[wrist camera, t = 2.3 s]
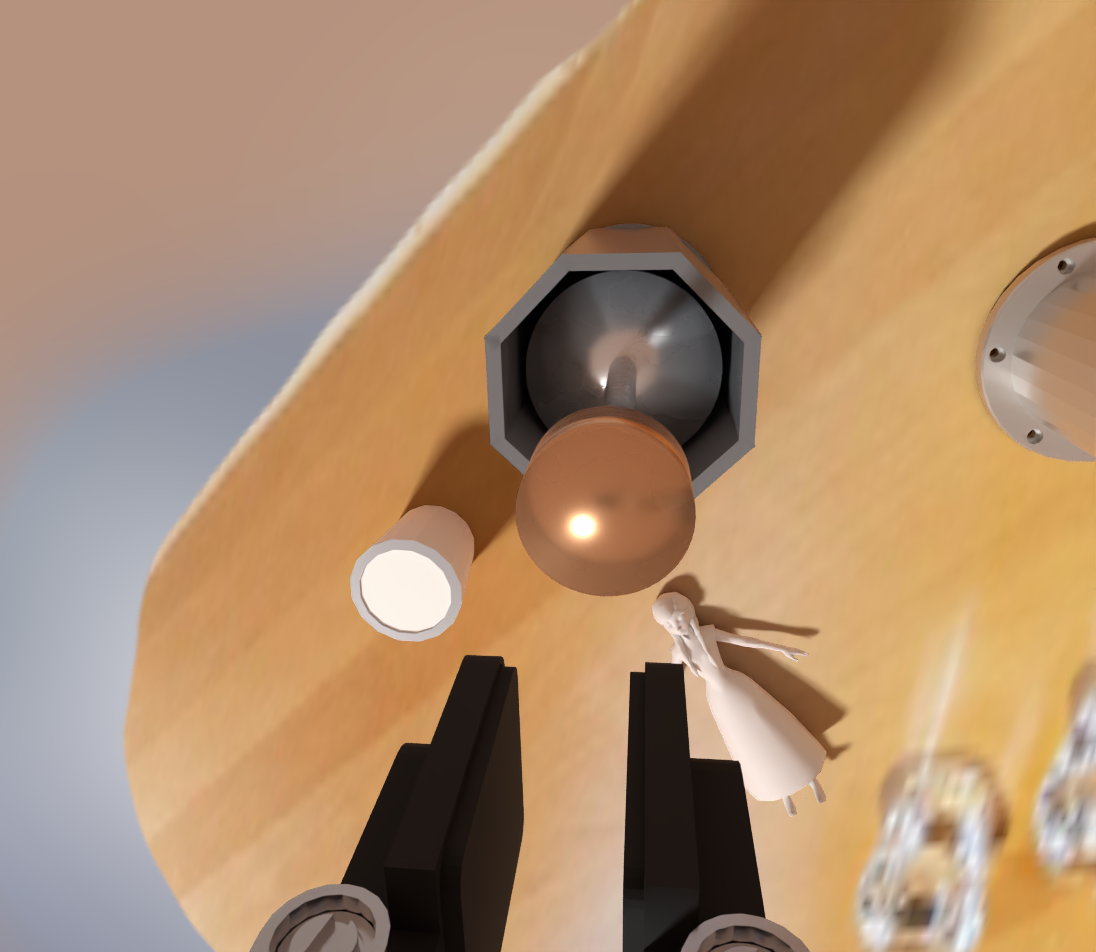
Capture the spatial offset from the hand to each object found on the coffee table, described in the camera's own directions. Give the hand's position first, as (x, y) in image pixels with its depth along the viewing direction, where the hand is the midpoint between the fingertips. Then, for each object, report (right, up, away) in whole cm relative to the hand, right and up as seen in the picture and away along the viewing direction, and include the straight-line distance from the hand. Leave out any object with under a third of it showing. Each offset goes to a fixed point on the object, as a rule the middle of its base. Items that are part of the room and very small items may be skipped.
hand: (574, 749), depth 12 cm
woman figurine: (+12, -10, +45) cm, 48 cm away
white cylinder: (-8, -1, +43) cm, 44 cm away
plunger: (+3, +9, +24) cm, 25 cm away
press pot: (+5, +12, +37) cm, 39 cm away
